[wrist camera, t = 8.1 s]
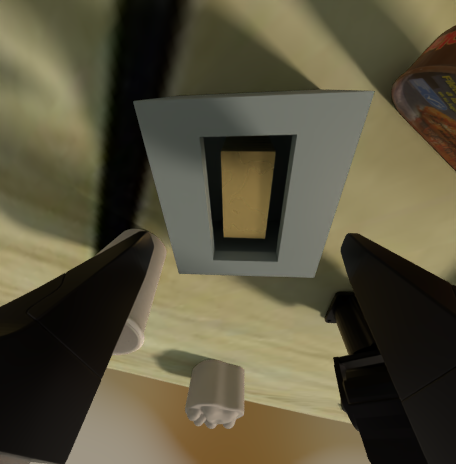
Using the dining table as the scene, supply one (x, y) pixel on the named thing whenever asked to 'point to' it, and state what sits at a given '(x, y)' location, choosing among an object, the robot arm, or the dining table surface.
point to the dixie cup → (140, 297)
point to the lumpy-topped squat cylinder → (215, 394)
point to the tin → (432, 95)
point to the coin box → (283, 182)
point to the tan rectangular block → (246, 185)
